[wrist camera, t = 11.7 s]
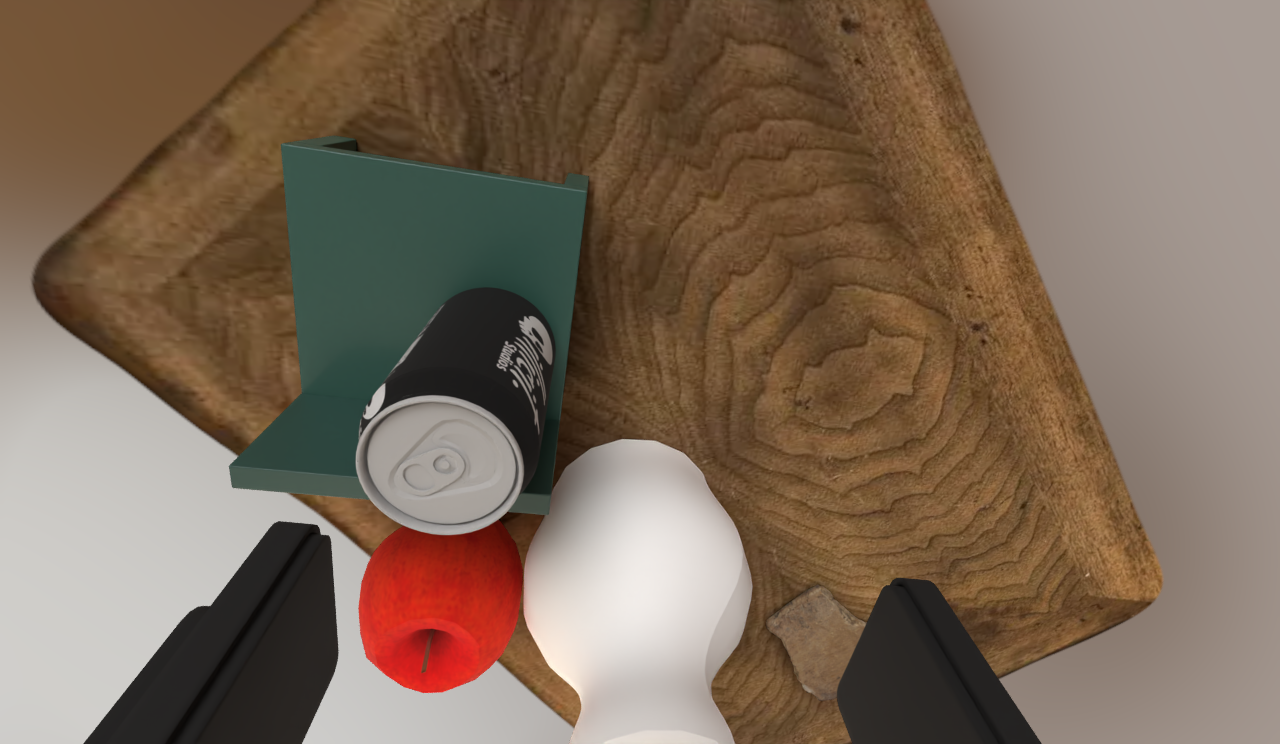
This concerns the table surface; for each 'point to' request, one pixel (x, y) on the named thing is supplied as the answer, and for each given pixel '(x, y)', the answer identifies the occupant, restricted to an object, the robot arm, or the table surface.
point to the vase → (638, 594)
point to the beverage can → (460, 415)
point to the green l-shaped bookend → (403, 293)
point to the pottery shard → (817, 639)
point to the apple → (440, 605)
